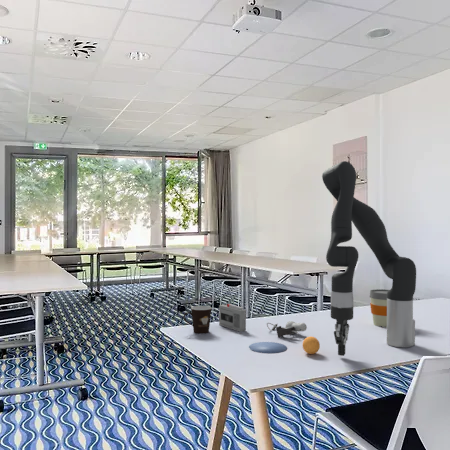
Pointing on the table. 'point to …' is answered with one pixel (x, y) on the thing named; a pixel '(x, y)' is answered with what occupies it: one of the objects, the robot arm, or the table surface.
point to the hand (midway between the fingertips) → (341, 354)
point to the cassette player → (232, 317)
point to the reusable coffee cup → (379, 306)
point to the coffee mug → (200, 318)
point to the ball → (311, 345)
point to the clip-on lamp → (289, 328)
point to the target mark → (268, 347)
